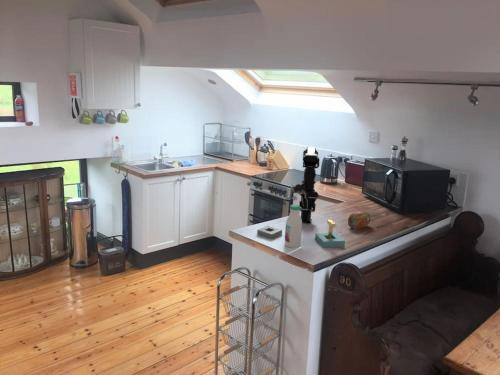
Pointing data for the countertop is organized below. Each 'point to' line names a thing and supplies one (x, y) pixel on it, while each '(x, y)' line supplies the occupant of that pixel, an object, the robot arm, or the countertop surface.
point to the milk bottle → (293, 228)
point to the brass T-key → (330, 228)
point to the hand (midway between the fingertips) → (306, 209)
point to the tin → (359, 220)
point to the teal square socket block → (329, 240)
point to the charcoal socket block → (269, 232)
